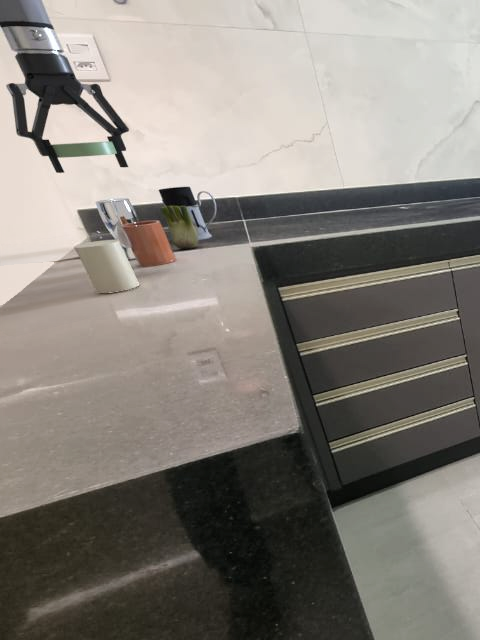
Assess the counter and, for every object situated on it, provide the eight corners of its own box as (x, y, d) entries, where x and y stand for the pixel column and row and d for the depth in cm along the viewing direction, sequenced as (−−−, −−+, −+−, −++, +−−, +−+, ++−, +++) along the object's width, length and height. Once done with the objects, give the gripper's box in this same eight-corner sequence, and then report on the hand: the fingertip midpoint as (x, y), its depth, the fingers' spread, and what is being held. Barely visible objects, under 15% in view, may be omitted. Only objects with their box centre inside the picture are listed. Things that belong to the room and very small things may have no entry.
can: (103, 296, 111) (79, 248, 106) (92, 291, 114) (69, 245, 110) (144, 286, 116) (123, 241, 112) (133, 282, 119) (112, 238, 115)
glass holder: (189, 236, 168) (168, 187, 161) (236, 233, 169) (218, 184, 162) (170, 242, 160) (148, 191, 153) (219, 239, 161) (199, 188, 155)
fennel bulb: (205, 246, 152) (188, 203, 147) (189, 250, 148) (171, 206, 143) (188, 246, 153) (170, 204, 148) (172, 250, 149) (153, 207, 144)
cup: (145, 267, 132) (127, 227, 127) (134, 264, 135) (116, 225, 131) (181, 260, 137) (164, 221, 133) (169, 257, 141) (153, 219, 137)
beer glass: (137, 254, 147) (111, 198, 140) (161, 253, 146) (136, 197, 140) (114, 260, 140) (86, 202, 134) (138, 260, 140) (112, 201, 134)
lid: (62, 157, 109) (55, 144, 108) (49, 157, 114) (43, 144, 113) (123, 153, 116) (118, 141, 115) (109, 153, 121) (103, 141, 120)
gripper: (-41, 48, 96) (25, 176, 106) (117, 55, 113) (162, 164, 123) (-48, 52, 100) (16, 175, 110) (106, 58, 117) (150, 164, 127)
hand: (93, 169), depth 116 cm, fingers closed on lid, 10 cm apart
